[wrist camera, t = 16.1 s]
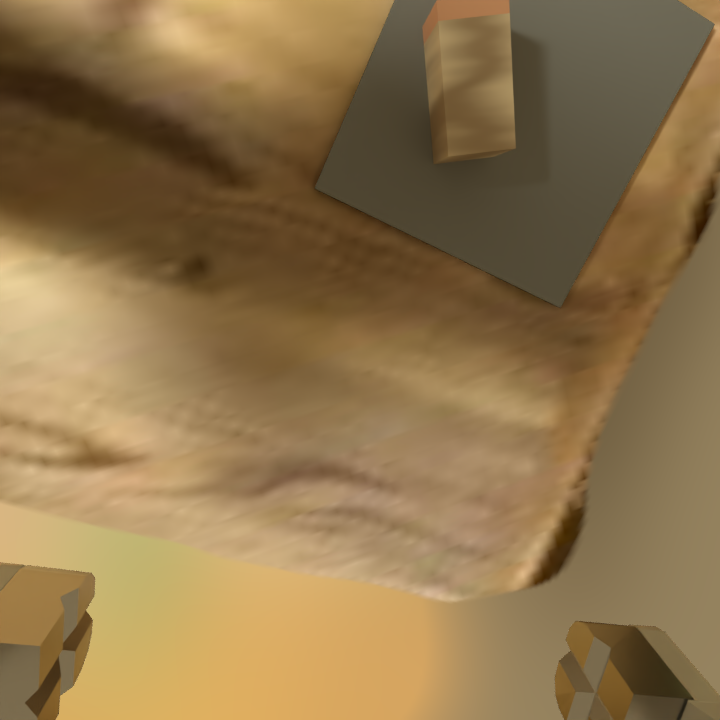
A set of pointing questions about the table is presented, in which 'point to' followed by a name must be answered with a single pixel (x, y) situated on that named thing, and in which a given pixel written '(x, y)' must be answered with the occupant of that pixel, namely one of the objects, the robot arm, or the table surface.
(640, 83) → the rubber mat
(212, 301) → the table surface
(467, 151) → the maple block
